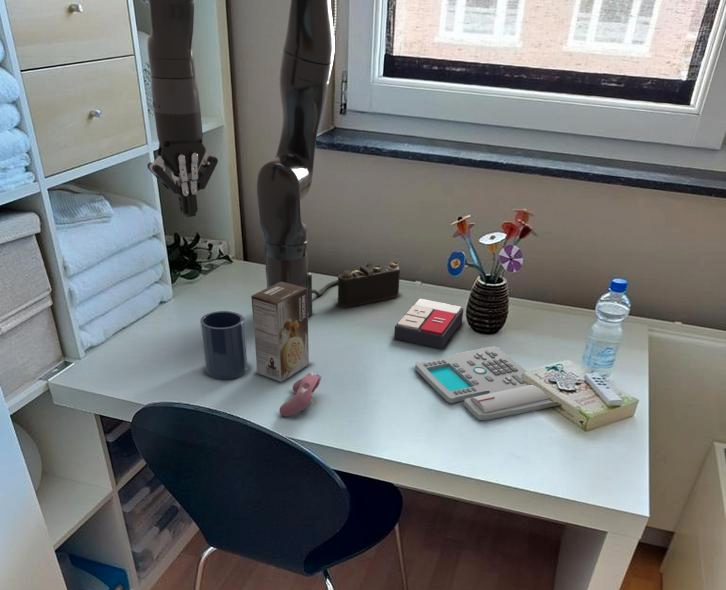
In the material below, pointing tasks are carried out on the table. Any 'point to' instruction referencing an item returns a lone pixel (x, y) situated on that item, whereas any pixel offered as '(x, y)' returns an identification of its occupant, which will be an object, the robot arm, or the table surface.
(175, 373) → the table surface
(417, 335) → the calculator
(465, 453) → the table surface
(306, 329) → the coffee box
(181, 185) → the robot arm
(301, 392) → the video game controller
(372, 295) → the camera
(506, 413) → the office telephone
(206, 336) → the pen cup
